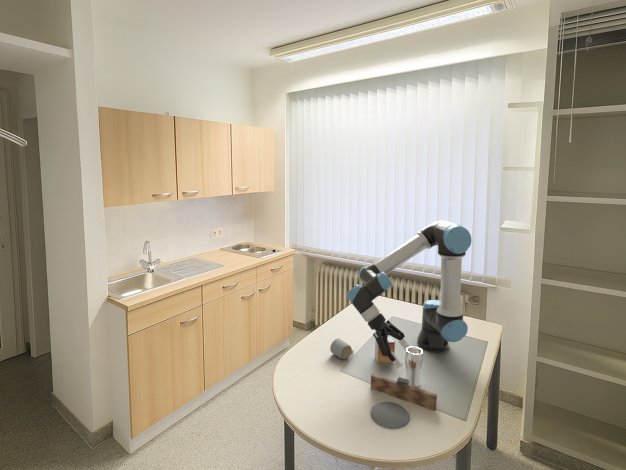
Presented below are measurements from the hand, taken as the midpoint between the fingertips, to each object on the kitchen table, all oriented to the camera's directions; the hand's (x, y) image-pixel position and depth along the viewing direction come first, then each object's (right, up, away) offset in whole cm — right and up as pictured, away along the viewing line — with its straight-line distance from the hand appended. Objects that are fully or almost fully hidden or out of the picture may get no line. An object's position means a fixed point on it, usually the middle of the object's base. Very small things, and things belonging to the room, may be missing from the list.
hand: (405, 359), depth 156 cm
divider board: (-4, -12, -9) cm, 16 cm away
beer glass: (+3, -10, +1) cm, 11 cm away
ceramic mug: (-24, -6, +23) cm, 34 cm away
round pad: (-10, -14, -19) cm, 26 cm away
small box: (-5, -7, +19) cm, 21 cm away
